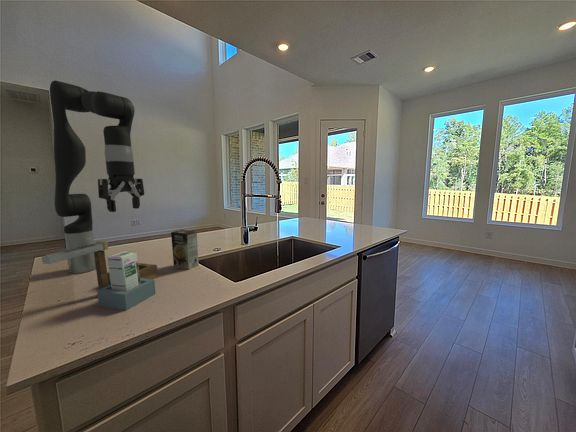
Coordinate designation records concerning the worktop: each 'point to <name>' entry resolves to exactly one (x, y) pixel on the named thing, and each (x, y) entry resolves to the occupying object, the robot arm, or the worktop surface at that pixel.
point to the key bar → (74, 252)
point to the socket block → (104, 278)
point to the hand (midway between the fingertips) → (124, 210)
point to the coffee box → (185, 249)
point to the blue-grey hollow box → (126, 295)
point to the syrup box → (124, 271)
